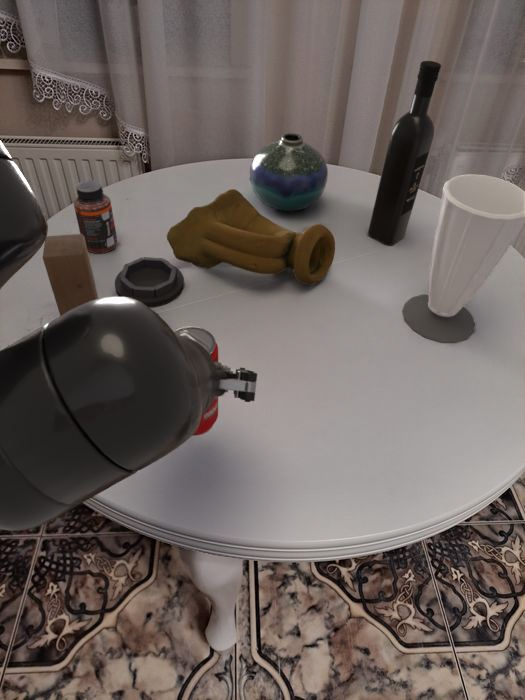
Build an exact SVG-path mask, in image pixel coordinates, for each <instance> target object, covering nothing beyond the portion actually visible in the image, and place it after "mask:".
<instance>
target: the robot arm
mask: <svg viewBox="0 0 525 700" xmlns="http://www.w3.org/2000/svg"><path fill="white" fill-rule="evenodd" d="M48 231H49V223H48V220H47V216H46V213H45V211H44V209H43V207H42V204H41V203H40V201H39V199H38V197H37V196H36V193H34V190H33V188H32V187H31V186H30V184H29V182H28V181H27V179H26V178H25V176H24V175H23V173H22V171H21V170H20V169H19V167H18V165H17V164H16V163H15V161H14V159H13V158H12V156H11V154H10V153H9V151H8V150H7V148H6V147H5V145H4V143H3V142H2V140H1V139H0V290H2V288H3V287H4V286H5V285H6V284H7V283H8V281H10V279H11V278H13V276H15V275H16V274H17V273H18V272H19V271H20V270H21V269H22V268H23V267H24V266H25V265H26V264H27V263H28V262H29V261H30V260H32V258H33V257H34V256H35V255H36V254H37V253H38V252H39V250H40V249H41V248H42V247H43V246H44V243H45V239H46V237H47V236H48ZM257 380H258V372H254V370H249V369H246V368H245V367H239V368H235V372H234V371H232V369H231V367H229V366H228V365H223V364H222V362H220V361H218V362H214V361H213V359H212V357H211V356H210V354H209V353H208V352H207V350H206V349H205V348H204V347H203V346H202V345H200V344H199V343H198V342H196V341H194V340H192V339H190V338H188V337H185V336H180V335H176V334H175V333H174V330H173V328H171V327H170V325H169V324H168V323H167V321H165V319H164V318H162V317H161V316H160V314H158V313H157V311H155V310H154V309H152V307H148V306H147V305H145V304H144V303H142V302H140V301H138V300H136V299H132V298H129V297H123V296H118V295H113V296H105V297H100V298H98V299H96V300H92V301H90V302H87V303H84V304H82V305H80V306H78V307H76V308H74V309H72V310H70V311H68V312H66V313H65V314H63V315H61V316H60V315H59V316H58V317H56V318H54V319H52V320H51V321H50V322H47V323H45V324H44V325H41V326H40V327H39V328H37V329H35V330H33V331H32V332H30V333H28V334H27V335H24V336H23V337H21V338H20V339H18V340H16V341H14V342H13V343H11V344H10V345H8V346H6V347H5V348H3V349H1V350H0V530H2V531H3V530H4V531H11V532H21V531H22V532H23V531H29V530H34V529H35V528H38V527H41V526H44V525H46V524H48V523H50V522H53V520H56V519H57V518H59V517H61V516H63V515H65V514H67V513H68V512H69V511H71V510H73V509H75V508H77V507H78V506H80V505H82V504H83V503H84V502H86V501H88V500H90V499H92V498H93V497H95V496H98V494H100V493H102V492H104V491H106V490H108V489H109V488H112V487H113V486H115V485H116V484H119V483H120V482H121V481H123V480H125V479H128V478H129V477H131V476H133V475H135V474H137V473H138V471H141V470H143V469H145V468H147V467H149V466H151V465H152V464H154V463H156V462H158V461H159V460H160V459H162V458H164V457H166V456H168V455H169V454H171V453H172V452H174V451H175V450H176V449H178V448H180V446H182V445H183V444H184V443H186V442H187V441H188V440H189V439H190V438H191V437H193V436H192V435H193V434H194V433H195V432H196V430H197V428H198V426H199V424H200V421H201V416H202V415H203V414H204V413H205V412H206V411H207V410H208V409H209V407H210V406H211V404H212V403H213V401H214V399H216V398H218V399H219V397H222V396H224V395H225V394H226V393H229V391H233V395H234V396H233V398H234V399H240V400H242V401H244V402H246V403H251V402H255V399H256V388H257Z"/></svg>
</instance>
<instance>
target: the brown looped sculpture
mask: <svg viewBox="0 0 525 700" xmlns="http://www.w3.org/2000/svg"><path fill="white" fill-rule="evenodd" d="M166 239H167V242H168V243H169V246H170V247H171V250H172V253H173V256H174V257H175V259H176V260H179V261H182V262H184V263H189V264H190V263H191V264H192V265H194V266H195V267H198V268H202V269H210V268H213V267H215V266H218V265H220V264H223V263H224V264H228V265H230V266H233V267H236V268H238V269H241V270H245V271H247V272H251V273H254V274H255V273H256V274H261V275H277V274H280V273H282V272H283V271H285V270H287V269H292V270H293V274H294V277H295V279H296V280H297V281H298V282H300V283H302V284H305V285H314V284H316V283H319V282H321V281H322V280H323V279H324V278H325V276H327V273H328V272H329V270H330V269H331V267H332V264H333V261H334V258H335V255H336V254H335V252H336V239H335V236H334V234H333V233H332V231H331V230H330V229H329V228H328V227H327V226H325V225H323V224H321V223H316V224H313V225H311V226H309V227H307V228H306V229H305V230H304V231H303V233H302V232H299V231H295V230H291V229H287V228H286V227H283V226H281V225H279V224H277V223H275V222H274V221H272V220H271V219H269V218H267V217H266V216H265V215H263V214H261V213H260V212H259V211H258V210H257V209H256V208H255V207H254V206H253V205H252V204H251V202H250V201H248V199H246V198H245V196H244V195H243V194H242V193H241V192H240V191H238V190H237V189H235V188H230V189H228V190H227V191H224V192H223V193H220V194H218V196H217V197H216V198H215V199H214V200H213V201H212V202H210V203H208V204H205V205H201V206H195V207H193V208H192V209H191V210H190V211H189V212H188V213H187V215H186V217H184V218H183V219H182V220H180V221H179V222H177V223H176V224H174V225H172V226H171V227H170V228H169V229H168V232H167V234H166Z"/></svg>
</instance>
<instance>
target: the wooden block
mask: <svg viewBox="0 0 525 700" xmlns="http://www.w3.org/2000/svg"><path fill="white" fill-rule="evenodd" d="M42 261H43V264H44V267H45V271H46V274H47V277H48V280H49V284H50V287H51V291H52V293H53V297H54V300H55V303H56V307H57V310H58V314H59V316H61V315H63V314H65V313H66V312H68V311H70V310H72V309H74V308H76V307H78V306H80V305H82V304H84V303H87V302H90V301H92V300H96V299H99V296H98V290H97V287H96V282H95V279H94V274H93V269H92V265H91V260H90V256H89V251H88V250H87V246H86V242H85V237H84V236H83V234H80V233H75V234H60V235H59V234H58V235H47V237H46V239H45V241H44V243H43V253H42Z"/></svg>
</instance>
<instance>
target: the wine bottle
mask: <svg viewBox="0 0 525 700" xmlns="http://www.w3.org/2000/svg"><path fill="white" fill-rule="evenodd" d="M441 68H442V64H441V63H439V62H437V61H433V60H423V61H421V62H420V65H419V71H418V73H417V81H416V84H415V89H414V93H413V97H412V101H411V105H410V108H409V110H408V111H407V112H406V113H404V114H403V115H402V116H401V117H400V118H399V119H398V120H397V121H396V123H395V124H394V126H393V127H392V130H391V132H390V137H389V139H388V144H387V149H386V152H385V153H386V154H385V158H384V162H383V165H382V171H381V175H380V179H379V184H378V188H377V192H376V196H375V201H374V203H373V204H374V205H373V209H372V214H371V217H370V222H369V227H368V231H367V234H368V236H369V237H371V238H372V239H375V240H377V241H379V242H381V243H383V244H384V245H388V246H392V245H394V244H396V243H397V242H399V241H400V240H401V239H403V238H404V237H405V235H406V233H407V230H408V227H409V222H410V218H411V215H412V212H413V209H414V205H415V202H416V198H417V196H418V191H419V188H420V185H421V182H422V177H423V174H424V172H425V167H426V164H427V161H428V157H429V154H430V150H431V147H432V143H433V141H434V136H435V125H434V122H433V120H432V118H431V117H430V115H429V114H428V112H429V108H430V105H431V101H432V98H433V93H434V90H435V85H436V82H437V81H438V78H439V74H440V72H441V71H440V70H441Z"/></svg>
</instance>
